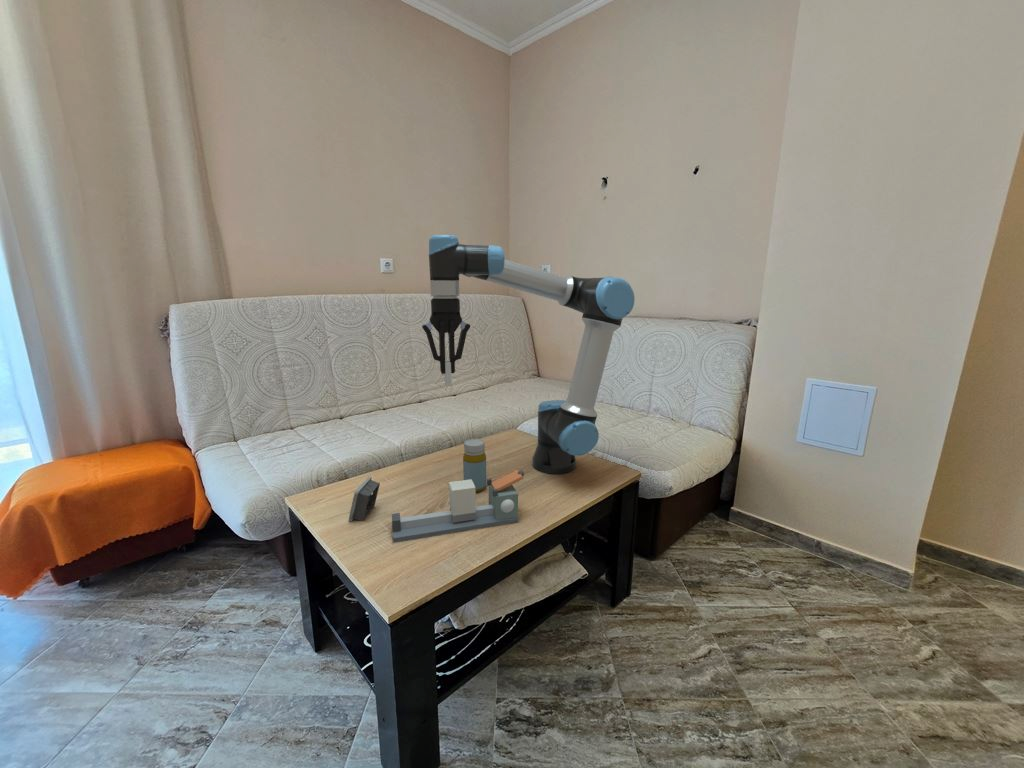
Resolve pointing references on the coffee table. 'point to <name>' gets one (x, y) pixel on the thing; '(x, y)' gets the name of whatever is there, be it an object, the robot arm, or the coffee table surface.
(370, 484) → the electrical switch
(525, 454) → the coffee table surface
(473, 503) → the carriage
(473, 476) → the bottle
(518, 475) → the lever
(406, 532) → the rail bench
